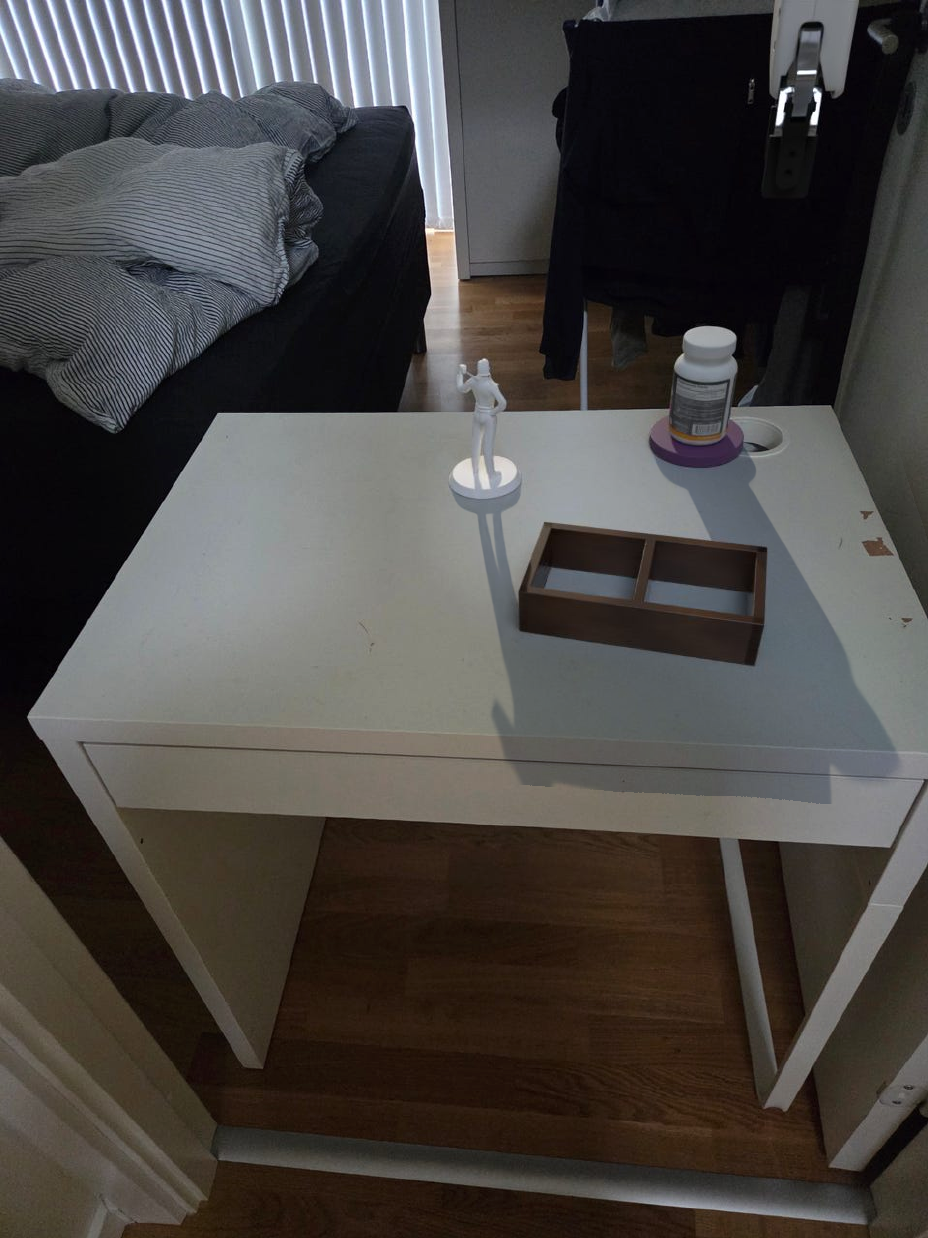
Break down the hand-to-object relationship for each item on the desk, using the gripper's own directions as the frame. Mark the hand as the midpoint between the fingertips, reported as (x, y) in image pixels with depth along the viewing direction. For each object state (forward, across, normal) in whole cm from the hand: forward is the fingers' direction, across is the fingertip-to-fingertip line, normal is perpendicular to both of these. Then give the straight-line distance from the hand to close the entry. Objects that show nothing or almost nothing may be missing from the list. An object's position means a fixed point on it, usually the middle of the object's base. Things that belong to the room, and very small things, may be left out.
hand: (783, 178), depth 65 cm
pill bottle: (+24, +2, +4) cm, 24 cm away
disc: (+25, +2, +4) cm, 25 cm away
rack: (+25, -24, +6) cm, 35 cm away
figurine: (+25, -8, +23) cm, 35 cm away
